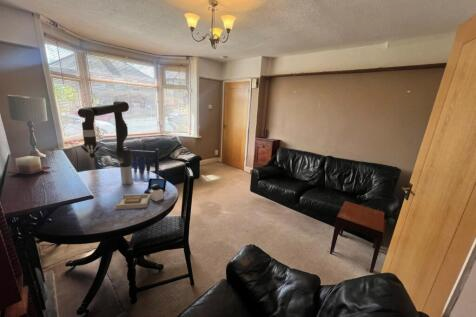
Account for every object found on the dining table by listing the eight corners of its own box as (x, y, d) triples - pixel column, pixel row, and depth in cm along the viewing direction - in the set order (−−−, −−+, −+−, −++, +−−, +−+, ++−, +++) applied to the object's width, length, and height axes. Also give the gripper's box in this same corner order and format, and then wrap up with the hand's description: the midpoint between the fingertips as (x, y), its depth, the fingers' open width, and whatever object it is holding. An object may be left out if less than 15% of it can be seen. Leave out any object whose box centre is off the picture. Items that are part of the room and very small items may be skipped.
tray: (123, 198, 161) (123, 194, 160) (150, 197, 166) (150, 193, 165) (115, 209, 145) (115, 205, 144) (146, 207, 150) (146, 203, 149)
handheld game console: (143, 193, 171) (142, 183, 169) (149, 187, 184) (149, 178, 182) (162, 194, 172) (161, 184, 169) (167, 188, 185) (166, 178, 182)
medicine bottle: (163, 198, 165) (162, 184, 162) (156, 201, 159) (155, 187, 156) (157, 196, 168) (156, 182, 165) (150, 199, 162) (149, 185, 159)
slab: (127, 196, 157) (141, 196, 159) (127, 200, 158) (141, 199, 160) (124, 201, 149) (138, 200, 152) (124, 205, 150) (139, 204, 152)
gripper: (101, 135, 155) (104, 156, 160) (81, 134, 153) (85, 156, 157) (97, 136, 148) (100, 159, 153) (76, 136, 146) (80, 159, 150)
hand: (92, 157), depth 155 cm, fingers closed
